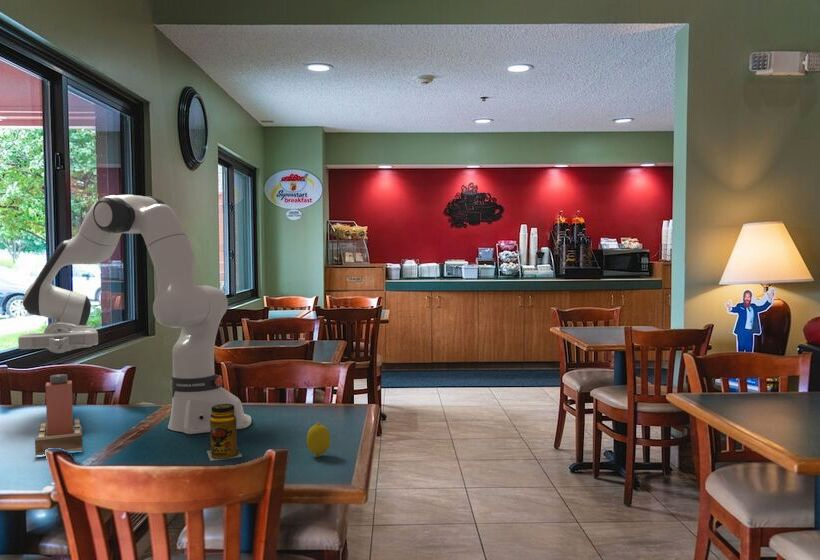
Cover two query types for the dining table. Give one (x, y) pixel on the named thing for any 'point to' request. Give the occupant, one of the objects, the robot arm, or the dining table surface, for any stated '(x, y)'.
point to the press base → (59, 439)
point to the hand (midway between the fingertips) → (58, 342)
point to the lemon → (318, 439)
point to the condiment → (223, 433)
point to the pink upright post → (59, 405)
